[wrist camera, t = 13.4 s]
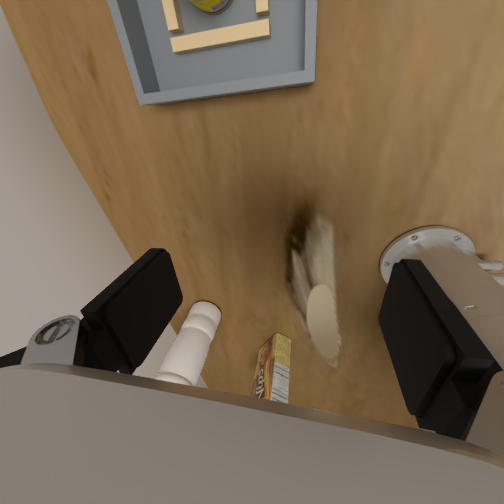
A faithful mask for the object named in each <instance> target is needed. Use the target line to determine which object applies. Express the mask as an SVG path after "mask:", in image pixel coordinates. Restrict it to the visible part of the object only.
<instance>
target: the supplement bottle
mask: <svg viewBox="0 0 504 504" xmlns="http://www.w3.org/2000/svg"><path fill="white" fill-rule="evenodd" d="M189 1H191V2H192V3H193V4H194V5H195V6H196V7H197V8H199V9H200V10H202V11H203V12H205V13H209V14H216V13H219V12H221V11H223V10H224V9H226V8H227V6H228V5H229V4H230V2H231V1H232V0H189Z"/></svg>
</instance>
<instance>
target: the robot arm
mask: <svg viewBox="0 0 504 504" xmlns="http://www.w3.org/2000/svg"><path fill="white" fill-rule="evenodd" d="M379 268H380V273H381V275H382V277H383V279H384V281H385V282H386V283H387V284H388V285H387V288H386V292H385V295H384V299H383V302H382V306H381V309H380V313H379V323H380V326H381V329H382V333H383V336H384V339H385V342H386V345H387V348H388V351H389V354H390V357H391V360H392V363H393V366H394V369H395V372H396V375H397V378H398V382H399V385H400V388H401V391H402V394H403V397H404V400H405V403H406V406H407V409H408V411H409V413H410V414H411V415H415V417H416V420H417V423H418V425H419V428H423V429H428V430H433V431H435V432H436V433H432V432H428V431H424V430H420V429H415V428H410V427H405V426H400V425H395V424H390V423H386V422H381V421H376V420H371V419H366V418H361V417H356V416H351V415H346V414H341V413H335V412H330V411H325V410H319V409H314V408H309V407H304V406H298V405H293V404H288V403H282V402H277V401H272V400H267V399H261V398H256V397H250V396H245V395H239V394H234V393H229V392H223V391H218V390H212V389H207V388H201V387H196V386H190V385H185V384H179V383H174V382H168V381H163V380H157V379H151V378H146V377H140V376H134V375H132V374H133V372H134V371H135V369H136V368H137V367H139V366H140V365H141V364H142V363H143V361H144V360H145V358H146V357H147V355H148V354H149V352H150V351H151V349H152V348H153V346H154V345H155V343H156V342H157V340H158V338H159V337H160V335H161V334H162V332H163V331H164V329H165V328H166V326H167V325H168V323H169V322H170V320H171V319H172V317H173V316H174V314H175V313H176V311H177V309H178V308H179V306H180V305H181V303H182V300H183V296H182V292H181V289H180V286H179V283H178V279H177V276H176V273H175V270H174V266H173V263H172V260H171V257H170V254H169V253H168V252H167V251H166V250H165V249H162V248H151V249H149V250H148V251H147V252H146V253H145V254H144V255H143V256H141V257H140V258H139V259H138V260H137V261H136V262H135V263H134V264H132V265H131V266H130V267H129V268H128V269H127V270H126V271H124V272H123V273H122V274H121V275H120V276H119V277H118V278H117V279H116V280H114V281H113V282H112V283H111V284H110V285H109V286H108V287H106V288H105V289H104V290H103V291H102V292H101V293H100V294H99V295H97V296H96V297H95V298H94V299H93V300H92V301H90V302H89V303H88V304H87V305H86V306H85V307H84V308H83V309H81V313H82V314H83V316H84V318H83V319H82V320H80V319H79V318H78V317H77V316H74V315H68V316H63V317H59V318H57V319H55V320H52V321H50V322H48V323H47V324H45V325H43V326H42V327H41V328H39V329H38V330H37V331H36V332H35V333H34V334H33V335H32V337H31V339H30V341H29V343H28V346H27V347H24V348H22V349H19V350H17V351H15V352H12V353H10V354H7V355H5V356H2V357H0V504H504V287H503V286H504V274H502V273H487V272H486V271H485V270H497V271H499V270H501V269H502V268H503V263H502V262H501V261H482V260H481V259H480V258H478V257H477V256H476V255H475V247H474V244H473V243H472V241H471V240H470V239H469V238H468V237H467V236H466V235H465V234H463V233H462V232H460V231H459V230H457V229H454V228H451V227H446V226H427V227H421V228H418V229H415V230H412V231H409V232H407V233H405V234H403V235H401V236H400V237H398V238H397V239H395V240H394V241H393V242H392V243H391V244H390V245H389V246H388V247H387V248H386V249H385V251H384V253H383V254H382V256H381V259H380V267H379ZM117 370H119V372H120V373H117Z"/></svg>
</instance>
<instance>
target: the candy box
mask: <svg viewBox="0 0 504 504" xmlns="http://www.w3.org/2000/svg"><path fill="white" fill-rule="evenodd" d="M290 354H291V339H290V338H288V337H286V336H284V335H282V334H280V333H278V332H277V333H276V334H275V335H274V336H273V337H272V338H271V339H270V340H269V341H268V342H267V343H266V344H265V345H263V346H262V347H261V348H260V349H259V355H258V361H257V366H256V372H255V377H254V383H253V388H252V394H251V397H256V398H261V399H267V400H272V401H277V402H282V403H288V392H289V373H290Z"/></svg>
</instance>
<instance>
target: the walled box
mask: <svg viewBox="0 0 504 504" xmlns="http://www.w3.org/2000/svg"><path fill="white" fill-rule="evenodd" d="M107 1H108V5H109V8H110V11H111V15H112V18H113V21H114V24H115V28H116V31H117V34H118V37H119V41H120V44H121V47H122V50H123V54H124V57H125V60H126V63H127V67H128V70H129V73H130V76H131V80H132V83H133V86H134V89H135V93H136V96H137V99H138V102H139V105H162V104H169V103H177V102H184V101H192V100H199V99H207V98H214V97H221V96H229V95H236V94H244V93H251V92H259V91H266V90H273V89H281V88H288V87H296V86H303V85H311V84H313V83H314V81H315V52H316V23H317V0H232V1H231V2H230V4H229V5H228V6H227V8H226V9H224V10H223V11H221V12H219V13H216V14H209V13H205V12H203V11H202V10H200V9H199V8H197V7H196V6H195V5H194V4H193V3H192V2H191V1H189V0H107Z"/></svg>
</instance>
